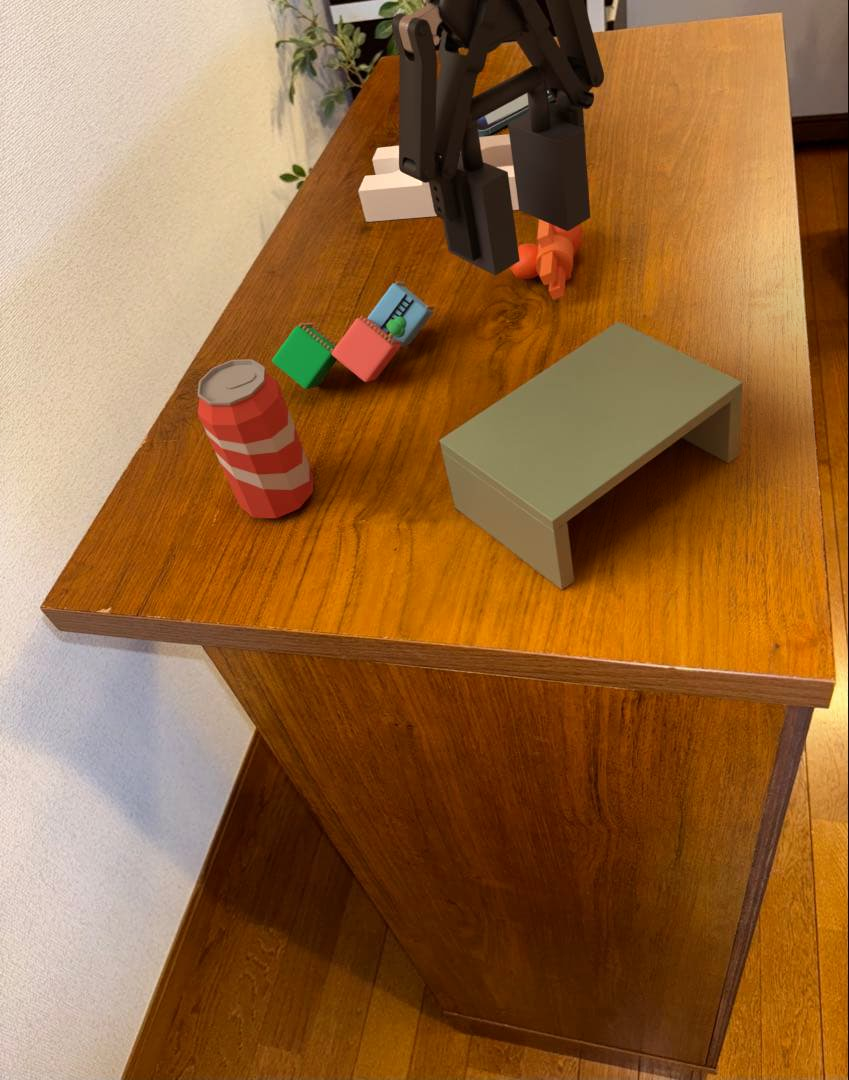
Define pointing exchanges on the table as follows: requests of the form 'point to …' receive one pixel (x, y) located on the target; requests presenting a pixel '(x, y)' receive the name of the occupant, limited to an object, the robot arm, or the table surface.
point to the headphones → (523, 170)
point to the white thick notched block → (420, 183)
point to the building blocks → (355, 340)
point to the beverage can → (254, 438)
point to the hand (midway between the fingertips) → (517, 221)
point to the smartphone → (505, 115)
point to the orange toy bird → (549, 257)
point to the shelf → (583, 439)
